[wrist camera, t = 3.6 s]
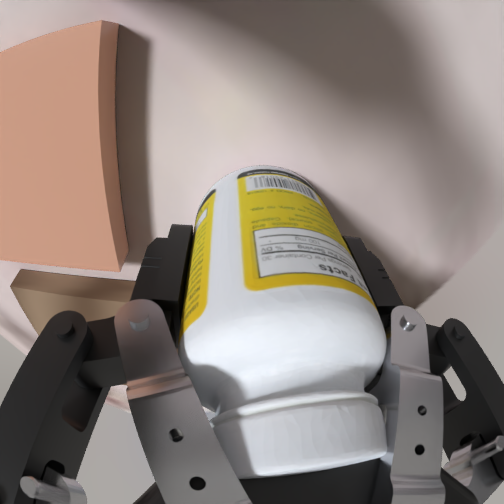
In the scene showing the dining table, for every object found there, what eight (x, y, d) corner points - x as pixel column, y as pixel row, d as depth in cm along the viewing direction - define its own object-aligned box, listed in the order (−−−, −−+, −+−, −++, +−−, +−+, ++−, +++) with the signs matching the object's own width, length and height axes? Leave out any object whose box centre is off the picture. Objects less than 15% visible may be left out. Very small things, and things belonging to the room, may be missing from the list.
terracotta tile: (118, 23, 7) (101, 20, 5) (129, 250, 13) (120, 272, 12) (-43, 79, 5) (-63, 87, 4) (-10, 241, 12) (-23, 257, 10)
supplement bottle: (237, 284, 14) (246, 491, 7) (172, 201, 11) (108, 467, 4) (338, 240, 13) (418, 451, 5) (294, 138, 10) (437, 418, 2)
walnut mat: (172, 283, 14) (167, 306, 13) (184, 374, 20) (182, 391, 19) (20, 269, 13) (10, 286, 12) (70, 358, 19) (65, 373, 18)
